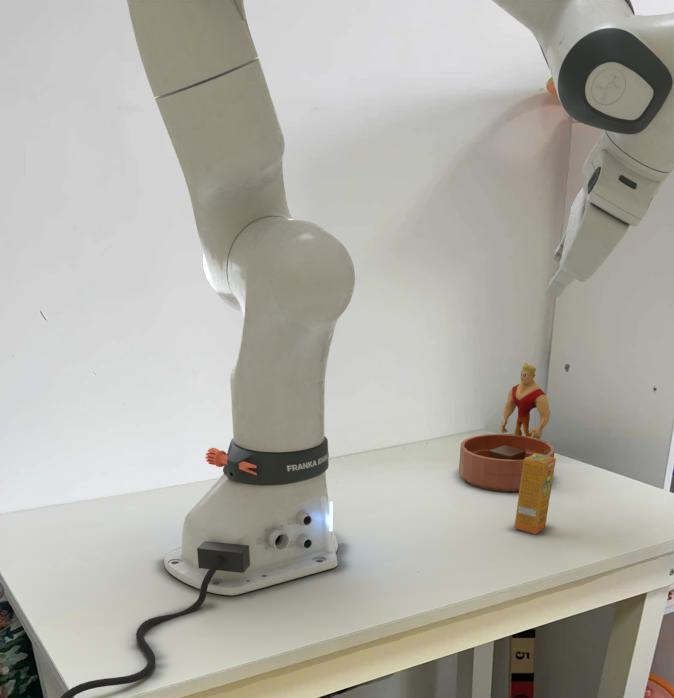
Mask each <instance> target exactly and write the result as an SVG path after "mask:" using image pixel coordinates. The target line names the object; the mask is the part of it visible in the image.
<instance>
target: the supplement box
mask: <svg viewBox="0 0 674 698" xmlns="http://www.w3.org/2000/svg"><path fill="white" fill-rule="evenodd" d="M556 461H557V458H555V457H554V458H553V457H550V456H547V455H543V454H539V453H534V454H533V455H531V456H529V457H526V458H525V459H524V463H523V469H522V476H521V483H520V490H519V491H518V498H517V504H516V505H517V506H516V512H515V513H516V514H515V521H514V529H515V530H518V531H521V532H525V533H529V534H533V535H536V534H538V533H539V532H541V531H542V530H543V529H545V528H546V525H547V519H548V513H549V512H548V511H549V505H550V499H551V493H552V487H553V479H554V473H555V468H556V467H555V466H556Z"/></svg>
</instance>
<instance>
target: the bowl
mask: <svg viewBox="0 0 674 698" xmlns="http://www.w3.org/2000/svg"><path fill="white" fill-rule="evenodd" d="M533 437H534V436H533ZM533 437H528V436H526V435H523V434H522V435H515V434H513V433H486V434H479V435H474V436H471V437H467V438H465V439H464V440H463V441H461V442H460V448H459V462H458V463H459V465H458V475H459V476H460V477H461V478H462V479H463V480H464V481H465V482H467V483H468V484H470V485H472V486H473V487H474V486H475V487H477V488H481V489H484V490H490V491H497V492H519V490H520V483H521V476H522V469H523V463H524V460H506V459H495V458H489V451H490V450H493V449H496V448H498V447H501V446H504V445H505V446H509V447H513V448H517V449H521V450H525V451H526V454H525V458H526V457H529V456H531V455H533V454H534V453H539V454H543V455H547V456H550V457H553V458H555V447H554V446H553V445H552V444H551V443H549V442H547V441H545V440H542V439H541V438H539V439H537V438H536V437H535V438H533Z"/></svg>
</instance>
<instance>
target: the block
mask: <svg viewBox="0 0 674 698" xmlns="http://www.w3.org/2000/svg"><path fill="white" fill-rule="evenodd" d="M525 454H526V451H525V450H521V449H517V448H513V447H509V446H505V445H504V446H501V447H498V448H496V449H493V450H490V451H489V458H495V459H506V460H524V459H525Z"/></svg>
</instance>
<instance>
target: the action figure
mask: <svg viewBox="0 0 674 698" xmlns="http://www.w3.org/2000/svg"><path fill="white" fill-rule="evenodd" d="M536 371H537V368H536V367H535V366H534V365H531V364H528V363H527V362H525V363H524V364H523V366H522V369H521V371H520V383H518V384H516V385H514V386H512V388H511V389H510V390H509V391H508V394H507V399H506V403H505V405H504V408H503V419H502V421H501V426H500V428H499V429H500V432H502V433H501V434H507V433H508V432H509V431H508V430H507V428H506V426H507V423H508V420H509V418H510V416H511V415H512V414H513V413H514V411H515V410H516V408H517V419H516V425H515V428H514V434H513V435H522V436H523V433H524V436H528V437H533V438H537V439H541V436H542V434H543V429H544V428H545V427H546V426H547V424H548V423H549V421H550V417H551V409H550V403H549V400H548V397H547V395H546V392H544V391H543V390H542V389H541V387H539V385H538V383H537V382H536V381H535V380H534V379H535V378H536ZM535 408H536V409H537V411H538V413H539V415H540V420H539V423H538V427H536V428H533V429H532V428H531V429H530V420H531V411H532V410H533V409H535ZM522 429H523V431H522Z"/></svg>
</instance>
